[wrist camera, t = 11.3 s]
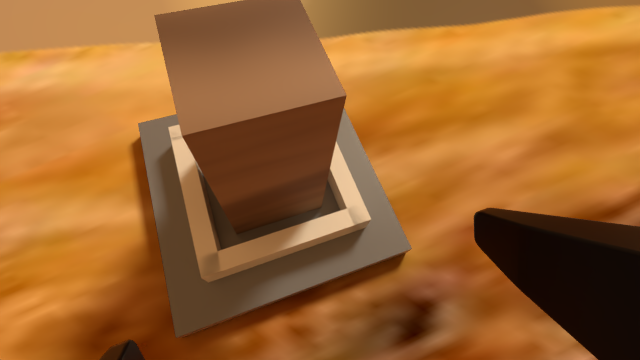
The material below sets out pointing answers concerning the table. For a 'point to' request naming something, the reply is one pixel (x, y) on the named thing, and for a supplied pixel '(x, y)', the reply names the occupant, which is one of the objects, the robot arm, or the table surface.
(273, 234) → the socket plate
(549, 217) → the robot arm
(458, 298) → the table surface
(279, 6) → the block
